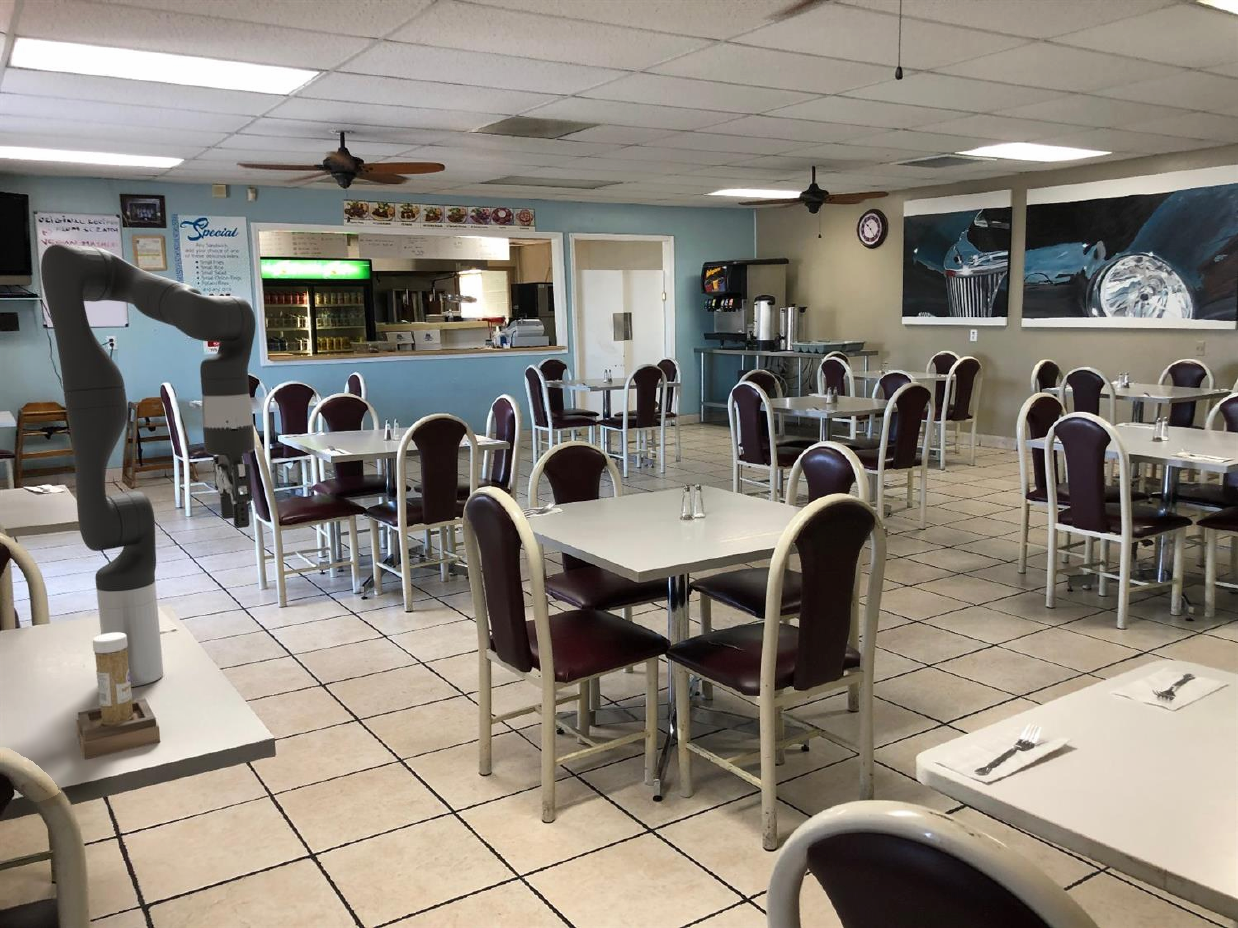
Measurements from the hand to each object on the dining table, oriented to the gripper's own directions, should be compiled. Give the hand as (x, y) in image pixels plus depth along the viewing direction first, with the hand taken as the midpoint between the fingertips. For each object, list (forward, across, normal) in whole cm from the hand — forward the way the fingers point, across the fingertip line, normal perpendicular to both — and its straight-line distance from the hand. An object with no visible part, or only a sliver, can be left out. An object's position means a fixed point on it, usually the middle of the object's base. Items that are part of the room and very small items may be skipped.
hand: (235, 522), depth 158 cm
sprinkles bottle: (+28, +3, -20) cm, 34 cm away
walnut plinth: (+30, +4, -20) cm, 36 cm away
